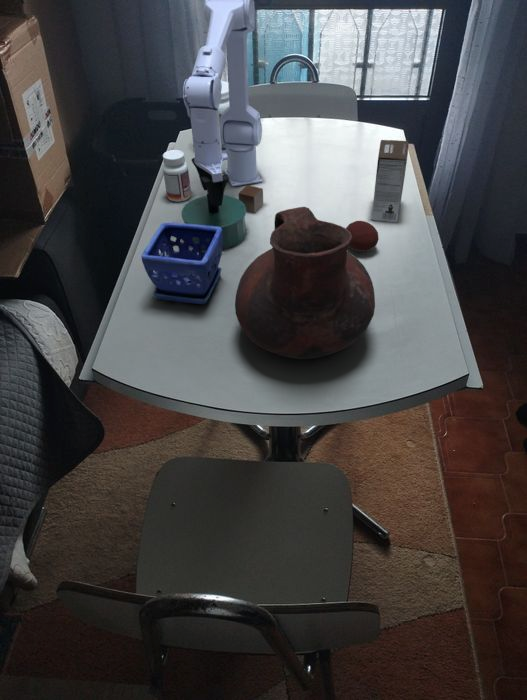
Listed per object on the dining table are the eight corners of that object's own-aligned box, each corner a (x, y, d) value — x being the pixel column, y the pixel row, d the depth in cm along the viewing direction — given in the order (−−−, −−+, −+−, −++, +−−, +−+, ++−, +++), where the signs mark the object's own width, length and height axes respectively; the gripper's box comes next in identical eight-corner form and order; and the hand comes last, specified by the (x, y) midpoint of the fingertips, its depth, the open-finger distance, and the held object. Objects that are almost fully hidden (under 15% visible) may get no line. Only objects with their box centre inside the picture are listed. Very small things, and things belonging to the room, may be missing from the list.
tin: (181, 223, 143) (178, 203, 139) (237, 214, 145) (235, 193, 141) (193, 254, 133) (190, 233, 129) (251, 243, 135) (250, 222, 132)
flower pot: (147, 305, 120) (137, 256, 112) (169, 267, 130) (161, 219, 122) (211, 313, 118) (205, 263, 110) (228, 274, 127) (224, 225, 119)
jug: (359, 289, 122) (370, 176, 105) (381, 377, 104) (399, 258, 87) (237, 294, 122) (228, 182, 105) (237, 384, 104) (227, 266, 87)
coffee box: (373, 201, 148) (380, 138, 136) (400, 203, 146) (409, 140, 135) (370, 221, 141) (377, 156, 130) (398, 223, 140) (407, 158, 129)
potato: (348, 260, 130) (350, 236, 126) (337, 239, 136) (339, 216, 131) (381, 255, 131) (384, 232, 126) (368, 235, 137) (371, 212, 132)
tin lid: (203, 193, 143) (201, 174, 139) (257, 206, 138) (256, 186, 134) (169, 223, 134) (166, 203, 130) (226, 238, 128) (224, 217, 125)
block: (239, 209, 147) (238, 192, 144) (248, 200, 150) (247, 184, 146) (254, 213, 145) (254, 196, 142) (263, 204, 148) (262, 188, 145)
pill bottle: (187, 188, 155) (182, 146, 147) (194, 199, 151) (189, 157, 143) (164, 193, 154) (158, 151, 146) (170, 204, 149) (163, 161, 142)
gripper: (234, 149, 119) (238, 209, 128) (216, 121, 129) (221, 179, 138) (200, 155, 118) (206, 215, 127) (184, 126, 128) (191, 184, 137)
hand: (212, 197), depth 133 cm, fingers open, 7 cm apart
